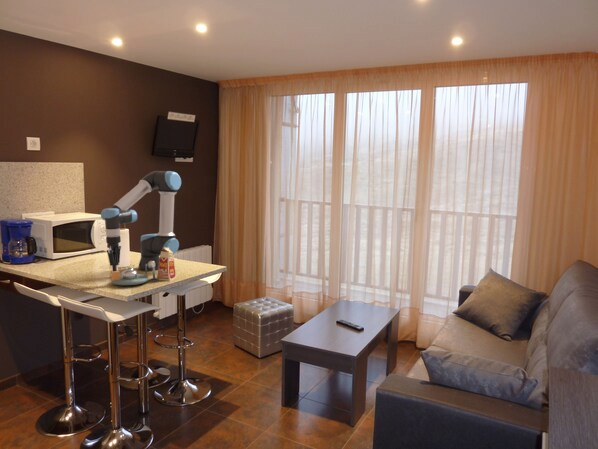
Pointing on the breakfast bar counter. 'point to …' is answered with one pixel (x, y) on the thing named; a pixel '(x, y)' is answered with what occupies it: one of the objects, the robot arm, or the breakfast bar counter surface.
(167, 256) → the milk carton
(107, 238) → the robot arm
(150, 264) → the dial indicator
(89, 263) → the breakfast bar counter surface
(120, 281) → the turntable
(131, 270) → the cover
